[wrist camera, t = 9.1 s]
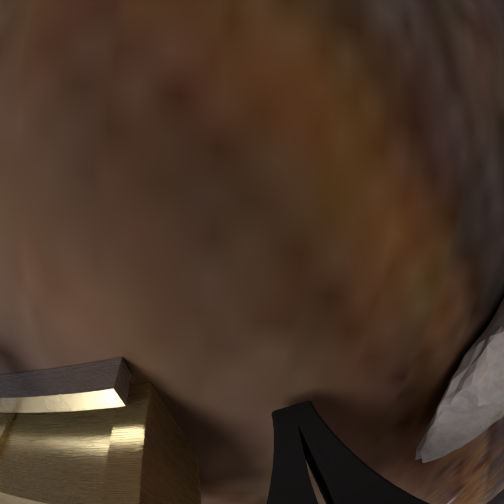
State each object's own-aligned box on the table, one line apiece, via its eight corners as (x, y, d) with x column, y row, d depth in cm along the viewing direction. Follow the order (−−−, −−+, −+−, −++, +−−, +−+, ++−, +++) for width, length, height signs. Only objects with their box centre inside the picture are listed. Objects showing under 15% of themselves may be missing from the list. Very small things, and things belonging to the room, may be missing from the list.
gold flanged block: (197, 452, 12) (205, 548, 7) (61, 459, 11) (46, 533, 7) (150, 381, 10) (138, 509, 5) (3, 397, 9) (-33, 478, 5)
